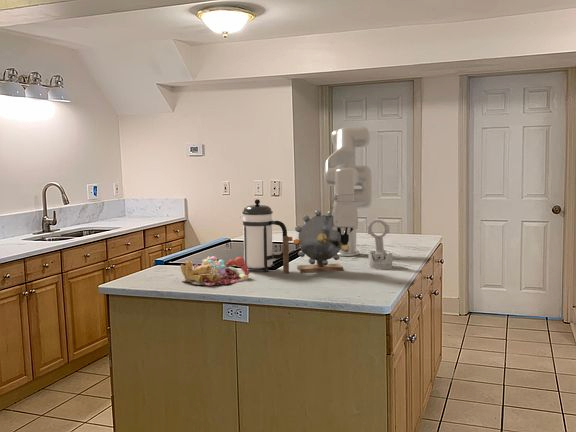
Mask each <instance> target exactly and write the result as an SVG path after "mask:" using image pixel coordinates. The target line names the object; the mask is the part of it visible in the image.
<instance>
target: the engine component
mask: <svg viewBox="0 0 576 432" xmlns="http://www.w3.org/2000/svg"><path fill="white" fill-rule="evenodd" d="M375 223H380V224H382V226H383V228H384V231H383V233H382V234H380V235H379V234H378V235H377V234H375V233H374V232H373V226H374V224H375ZM366 232H367V235H370V236H371V237H372V238H374V241H375V242H374V243H375V250H369V251H368V268H370V269H374V270H389V269H392V268H393V251H388V252H387V250H385V249H384V248H385V247H384V237H385V236H386V235H387V234H390V225H389V224H387V222H385V220H383V219H379V218H377V219H374V220H373V221H371V222H370V223H369V225H368V226H366Z"/></svg>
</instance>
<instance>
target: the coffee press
mask: <svg viewBox="0 0 576 432" xmlns="http://www.w3.org/2000/svg"><path fill="white" fill-rule="evenodd" d="M260 203H261V200H260V199H258V198H257V199H255V200H254V204H251V205H247V206H245V207H244V208H243V211H242V212H241V215H240V217H239V218H240V219H242V225H243V259H244V261H245V263H244V264H245V265H247V266H248V269H247V270H248V271H249V270H250V269H262V270H263V272H264V273H268V272H269V270H270V269H269V268H271V267H272V266H274V267H275V264H274V263H273V260H276V259H278V260H279V259H283V250H282V251H281V253H279V254H273V226H274V225H275V226H278V227H280V228H281V230H282V237H283V236H288V231H287V226H286V225H285V223H283V222H282V221H279V220H273V212H274V211H273V210H272V208H271V207H270V206H269V205H264V204H260Z"/></svg>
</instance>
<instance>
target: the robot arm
mask: <svg viewBox="0 0 576 432" xmlns="http://www.w3.org/2000/svg"><path fill="white" fill-rule="evenodd" d="M330 135H331V136H330V137H331V143H332V146H333V148H334V150H335V151H334V152H332V153H331V155H329V156H328V158H327V159H326V161H325V164H324V172H323V174H324V176H323V177H324V183H325V184H326V185H327V186H330V187H331V186H333V187H334V195H333V196H331V200H333V201H334V202H333V203H332V204H333V205H332V209H331V210H332V211H331V212H332V230H336V231H338V232H339V233H340V234H341V242H342V244H344V245H345V244H346V245H348V246H349V248H350V249H349V251H348V252H344V251H343V250H341V249H340V251H339V252H338V253H337V254H338V255H339V257H354V256H355V257H356V256H359V255H360V251H359V250H357V230H358V228H359V227H358V225H359V212H358V209H362V210H363V209H369V208H370V207H371V206H372V201H373V200H372V199H373V198H372V194H373V192H372V191H373V190H372V170H371V168H370V167H369V166H368V165H357V163H356V148H367V147H368V146H369V144H370V139H371V138H370V137H371V136H370V131H369V129H368V128H367V126H345V127H341V128H339V129H335V130H333V131H332V132H331V134H330ZM356 186H357V187H358V186H359V187H360V188H355V187H356ZM337 227H339V228H337ZM344 230H345V233H344Z"/></svg>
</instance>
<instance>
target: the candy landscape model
mask: <svg viewBox="0 0 576 432" xmlns="http://www.w3.org/2000/svg"><path fill="white" fill-rule="evenodd" d="M225 262H226V261H225V260H223V259H219V258H218V257H216V256H213V255H212V256H207V258H203V259H202V260H201V264H200V265H199V264H198V263H196V264H193V261H192V260H185V262H184V263H185V264H180V271H181V273H182V275H183V277H184V278H183V279H181V281H182V282H187V283H191V284H192V285H202V286H203V285H204V286H214V285H216V286H219V285H231V284H234V283H237V282H243V281H246V280H249V276H250V271H249V269H248V266H247V265H245V264H244V263H245V261H244V257H242V256H237V257H236V258H235V259H229V260H228V262H226V263H225ZM234 266H236V267H237V268H240V269H241V271H243V272H244V274H243V273H240V272H239V270H238V269H237V268H236V267H234ZM247 269H248V270H247Z"/></svg>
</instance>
